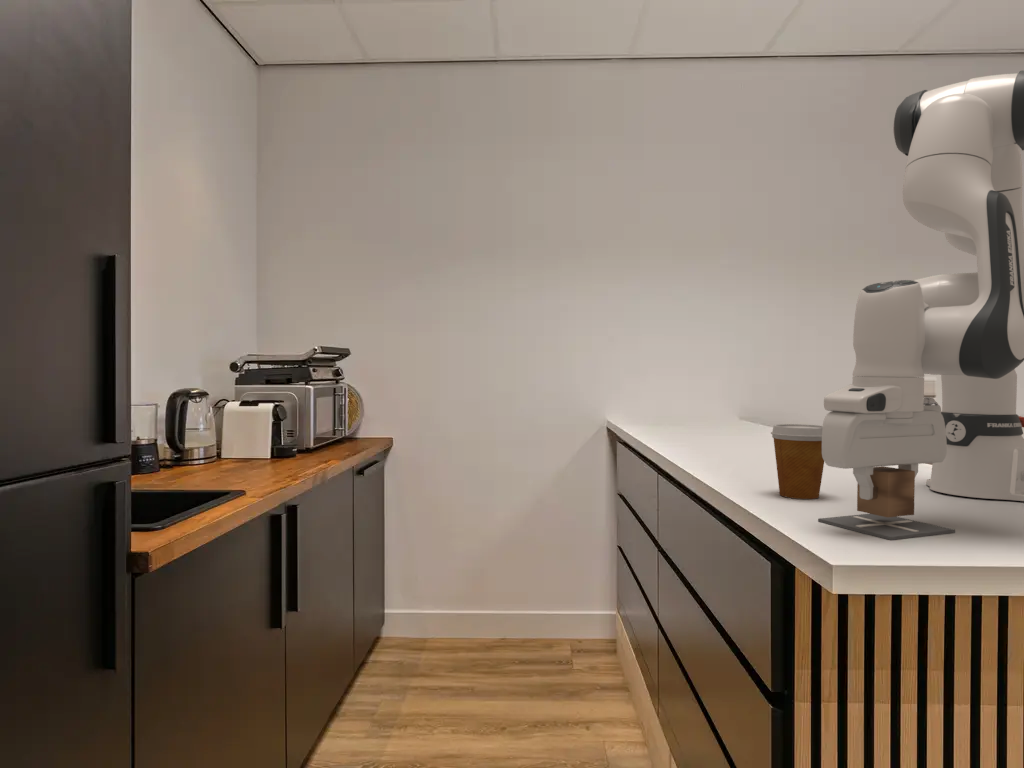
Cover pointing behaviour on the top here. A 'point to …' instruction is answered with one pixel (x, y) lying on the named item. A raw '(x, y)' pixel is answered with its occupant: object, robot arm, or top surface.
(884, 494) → the walnut block
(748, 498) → the top surface
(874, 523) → the pad
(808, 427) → the disposable coffee cup
